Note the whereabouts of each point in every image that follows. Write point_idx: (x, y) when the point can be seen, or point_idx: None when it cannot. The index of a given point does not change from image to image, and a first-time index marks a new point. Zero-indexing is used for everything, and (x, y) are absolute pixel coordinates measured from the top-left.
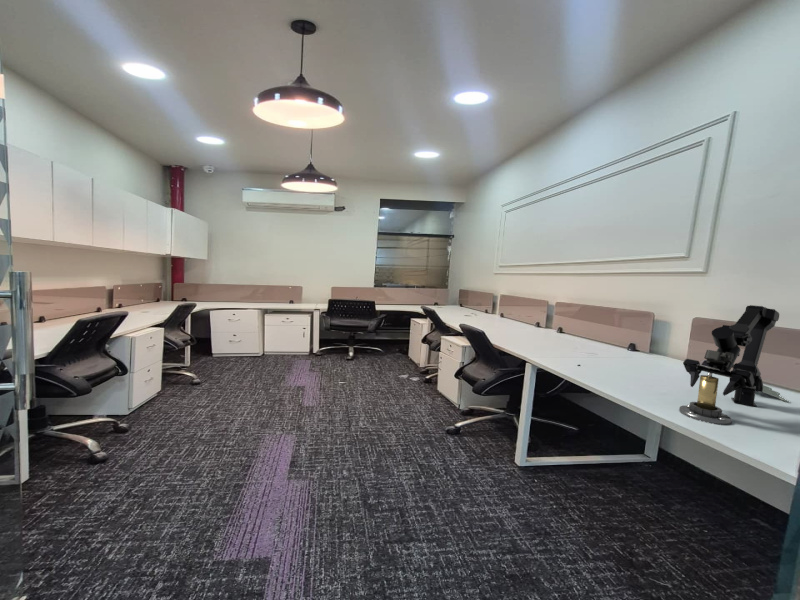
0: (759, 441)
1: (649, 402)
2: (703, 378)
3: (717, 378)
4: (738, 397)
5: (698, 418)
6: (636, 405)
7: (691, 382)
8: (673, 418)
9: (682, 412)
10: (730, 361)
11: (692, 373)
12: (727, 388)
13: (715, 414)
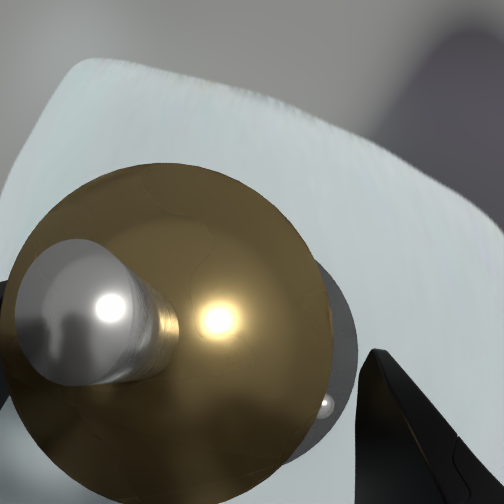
0: (54, 185)
1: (471, 319)
2: (241, 197)
3: (11, 354)
4: None
5: None
6: (470, 208)
7: (395, 369)
8: (325, 161)
9: (324, 274)
10: None
11: (474, 482)
12: (4, 285)
13: None
